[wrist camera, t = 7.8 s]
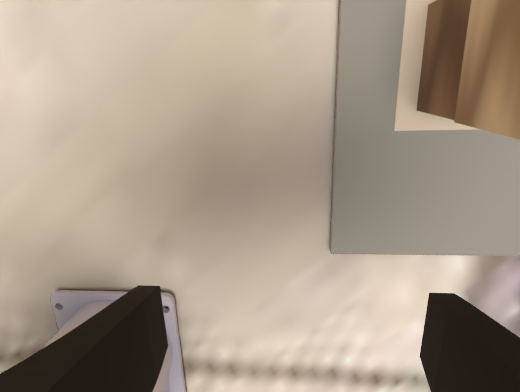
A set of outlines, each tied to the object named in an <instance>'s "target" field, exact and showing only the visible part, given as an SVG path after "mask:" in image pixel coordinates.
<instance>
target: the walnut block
mask: <svg viewBox="0 0 520 392" xmlns="http://www.w3.org/2000/svg"><path fill="white" fill-rule="evenodd" d="M470 6H471V0H436V1H435V2H433V3H431V4H429V5H428V12H427V21H426V30H425V39H424V48H423V57H422V66H421V75H420V84H419V93H418V102H417V111H420V112H424V113H428V114H432V115H436V116H440V117H444V118H448V119H452V120H454V119H455V112H456V105H457V98H458V91H459V84H460V77H461V70H462V63H463V56H464V49H465V42H466V35H467V27H468V20H469V13H470Z"/></svg>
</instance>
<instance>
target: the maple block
mask: <svg viewBox="0 0 520 392" xmlns="http://www.w3.org/2000/svg"><path fill="white" fill-rule="evenodd" d="M454 122H455V123H459V124H462V125H466V126H470V127H474V128H477V129H481V130H485V131H489V132H492V133H496V134H500V135H503V136H507V137H511V138H515V139H518V140H520V0H471V6H470V13H469V20H468V27H467V35H466V42H465V49H464V56H463V63H462V70H461V77H460V84H459V91H458V98H457V105H456V112H455V119H454Z"/></svg>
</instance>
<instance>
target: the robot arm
mask: <svg viewBox="0 0 520 392" xmlns="http://www.w3.org/2000/svg"><path fill="white" fill-rule="evenodd" d="M50 300H51V303H52V307H53V311H54V315H55V319H56V323H57V326H58V330H59V331H58V332H57V333H56V334H55V335H54V336H53V337H52V339H51V340H50V341H49V342H48V343H47V344H46V345H45V346H44V347H43V348H42V349H41V350H40V351H38V352H37V353H35V354H33V355H32V356H30V357H29V358H27V359H25V360H24V361H22V362H20V363H18V364H17V365H15V366H13V367H11V368H10V369H8V370H6V371H4V372H3V373H1V374H0V392H186V386H185V379H184V371H183V363H182V355H181V347H180V339H179V331H178V324H177V316H176V308H175V300H174V297H173V296H172V295H171V294H170V293H166V292H160V286H137V287H136V288H134V289H132V290H131V291H129V292H123V291H76V290H57V291H55V292H54V293H53V294H52V295H51V297H50ZM60 304H61V305H62V306H61V305H60ZM164 306H168V307H169V309H166V308H165V307H164ZM420 358H421V361H422V365H423V368H424V371H425V374H426V378H427V381H428V384H429V387H430V390H431V392H520V338H519V337H518V336H516V335H515V334H513V333H512V332H511V331H509V330H508V329H506V328H505V327H503V326H502V325H500V324H499V323H498V322H496V321H495V320H493V319H492V318H490V317H489V316H487V315H486V314H485V313H483V312H482V311H480V310H479V309H477V308H476V307H474V306H473V305H471V304H470V303H468V302H467V301H465V300H464V299H462V298H461V297H459V296H457V295H456V294H452V293H429V299H428V306H427V312H426V319H425V326H424V332H423V339H422V346H421V352H420Z"/></svg>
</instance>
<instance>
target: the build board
mask: <svg viewBox="0 0 520 392" xmlns="http://www.w3.org/2000/svg"><path fill="white" fill-rule="evenodd" d="M435 1H436V0H339V20H338V46H337V72H336V99H335V125H334V151H333V178H332V204H331V230H330V252H331V254H394V255H484V256H520V140H518V139H515V138H511V137H507V136H503V135H500V134H496V133H492V132H489V131H485V130H481V129H477V128H474V127H470V126H466V125H462V124H459V123H455V122H454V120H452V119H448V118H444V117H440V116H436V115H432V114H428V113H424V112H420V111H417V102H418V93H419V84H420V75H421V66H422V57H423V48H424V39H425V30H426V21H427V12H428V5H429V4H431V3H433V2H435Z"/></svg>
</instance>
